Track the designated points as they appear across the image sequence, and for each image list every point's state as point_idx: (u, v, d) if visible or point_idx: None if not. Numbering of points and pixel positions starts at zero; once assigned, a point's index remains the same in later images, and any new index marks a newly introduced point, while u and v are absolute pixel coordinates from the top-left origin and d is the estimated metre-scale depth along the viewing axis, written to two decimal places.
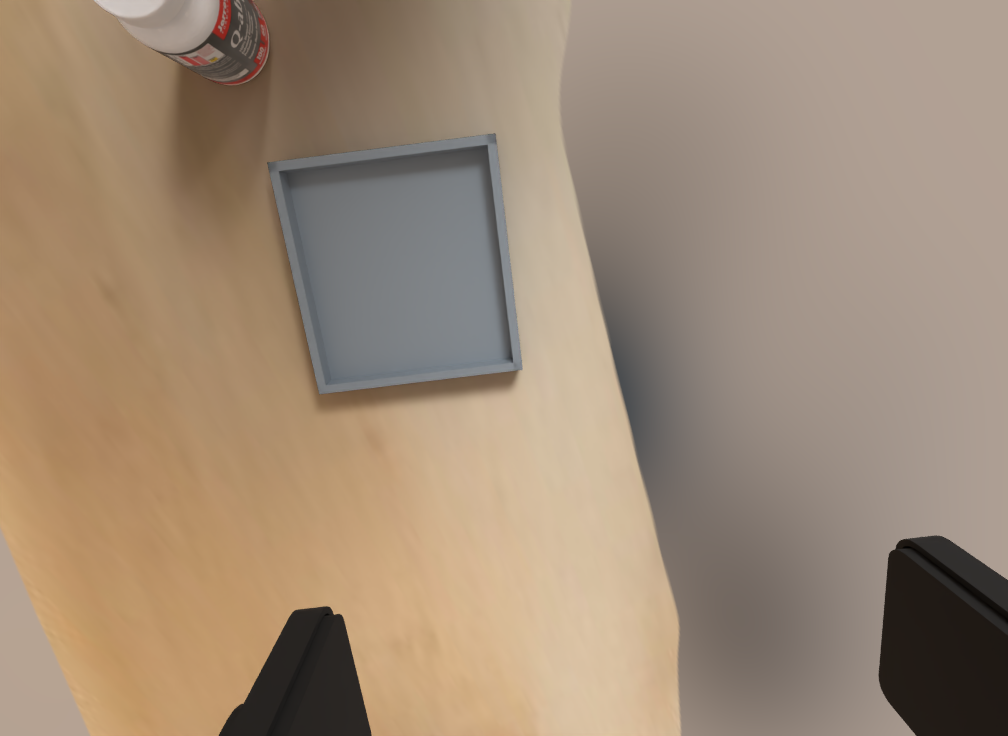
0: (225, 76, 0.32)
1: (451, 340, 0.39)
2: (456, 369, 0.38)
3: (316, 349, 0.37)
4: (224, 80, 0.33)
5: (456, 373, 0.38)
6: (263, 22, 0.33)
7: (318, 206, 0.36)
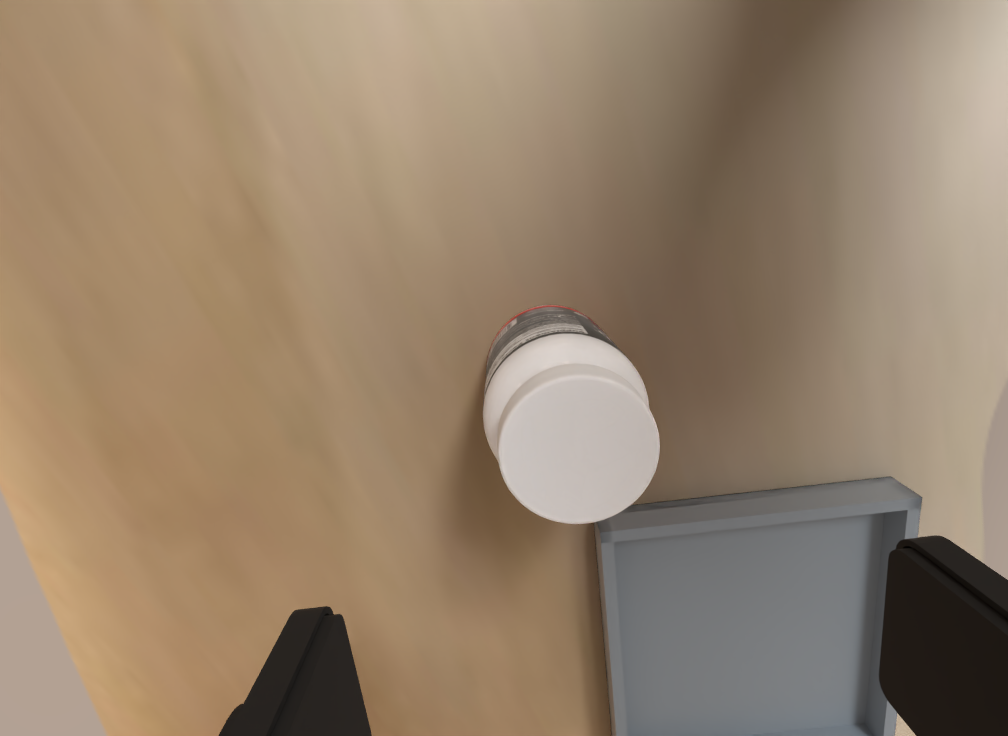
0: None
1: (789, 705, 0.29)
2: None
3: (625, 734, 0.28)
4: None
5: None
6: None
7: (643, 562, 0.27)
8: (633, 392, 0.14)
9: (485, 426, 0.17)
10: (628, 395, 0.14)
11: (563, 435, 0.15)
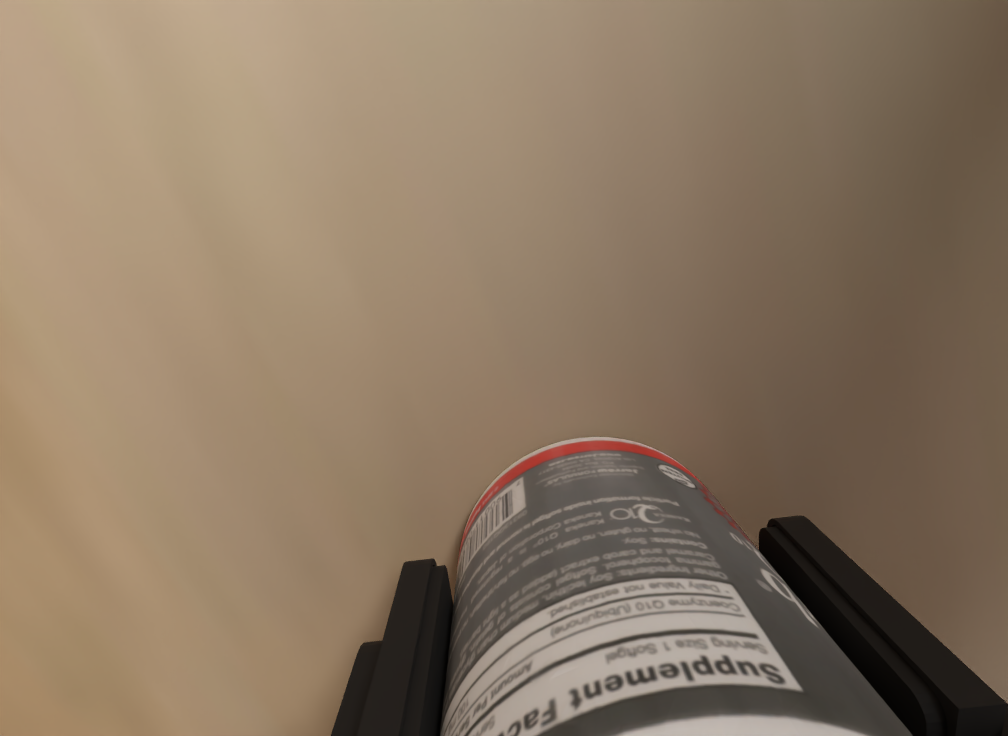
0: None
1: None
2: None
3: None
4: None
5: None
6: None
7: None
8: None
9: None
10: None
11: None
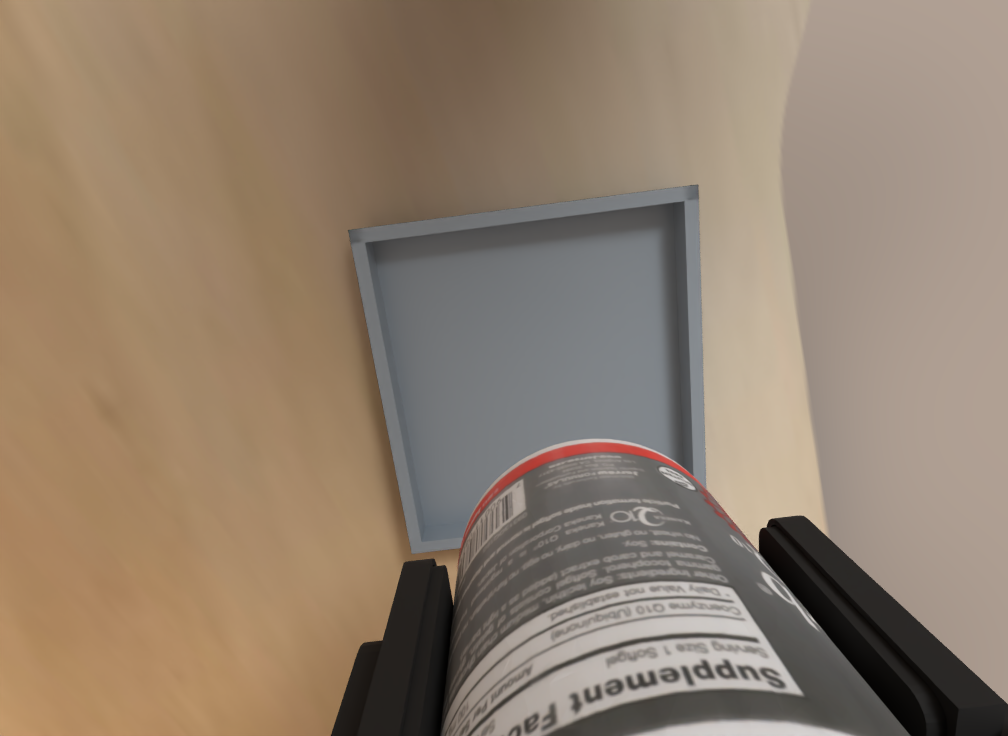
0: None
1: None
2: None
3: (410, 493, 0.25)
4: None
5: None
6: None
7: (418, 289, 0.24)
8: None
9: None
10: None
11: None
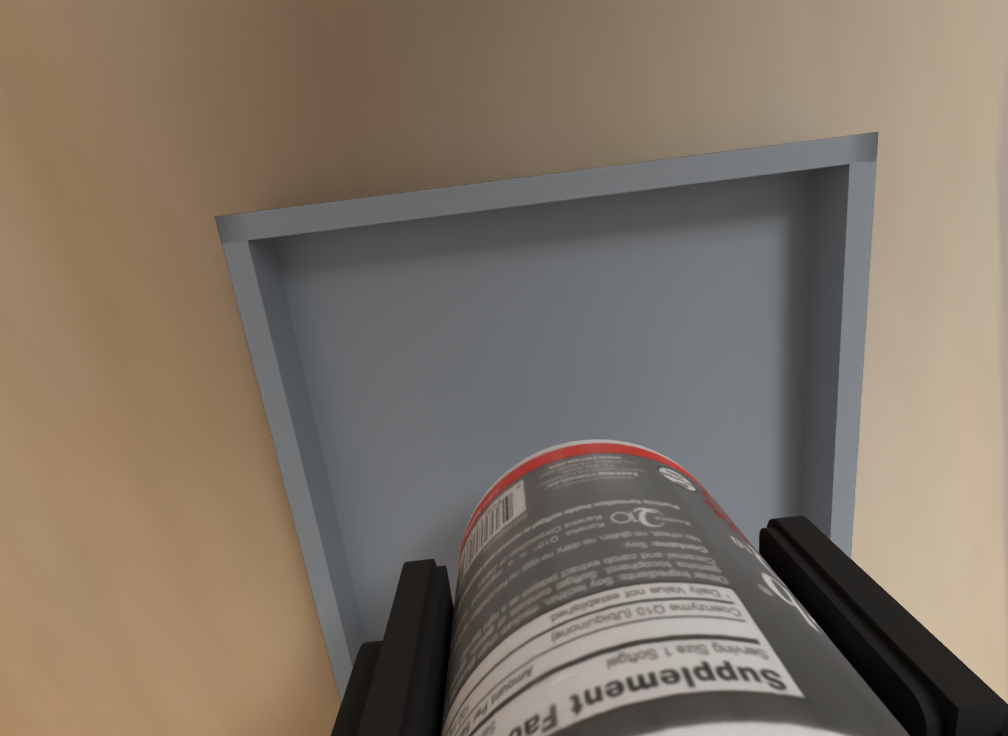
0: None
1: None
2: None
3: (348, 664, 0.15)
4: None
5: None
6: None
7: (357, 323, 0.14)
8: None
9: None
10: None
11: None
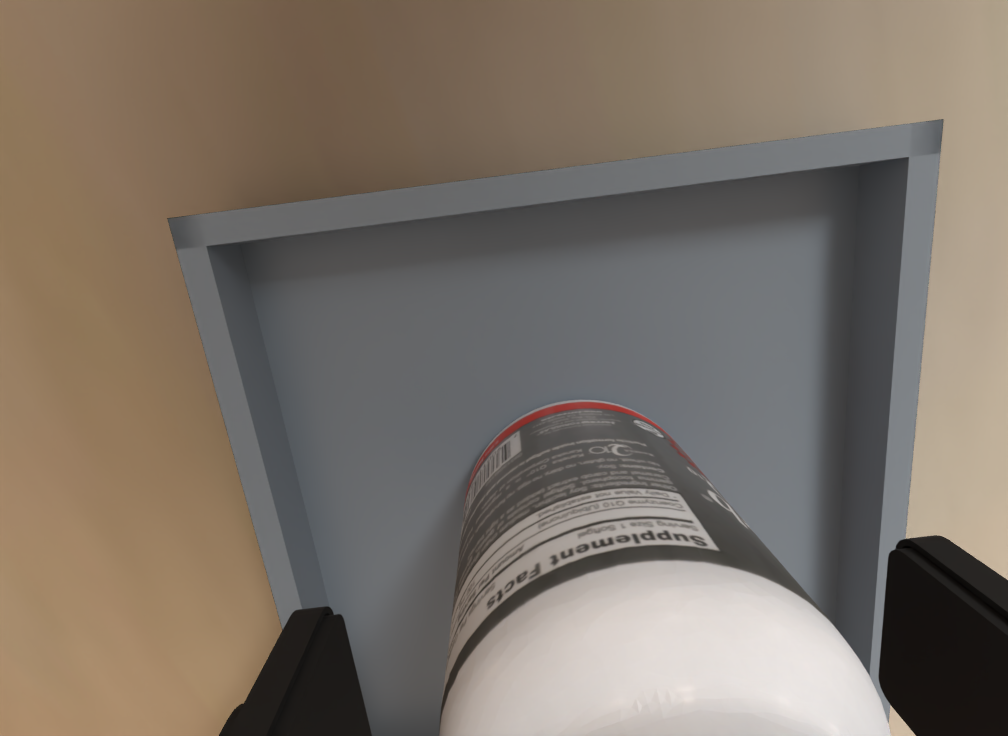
0: None
1: None
2: None
3: None
4: None
5: None
6: None
7: (337, 339, 0.12)
8: None
9: None
10: None
11: None
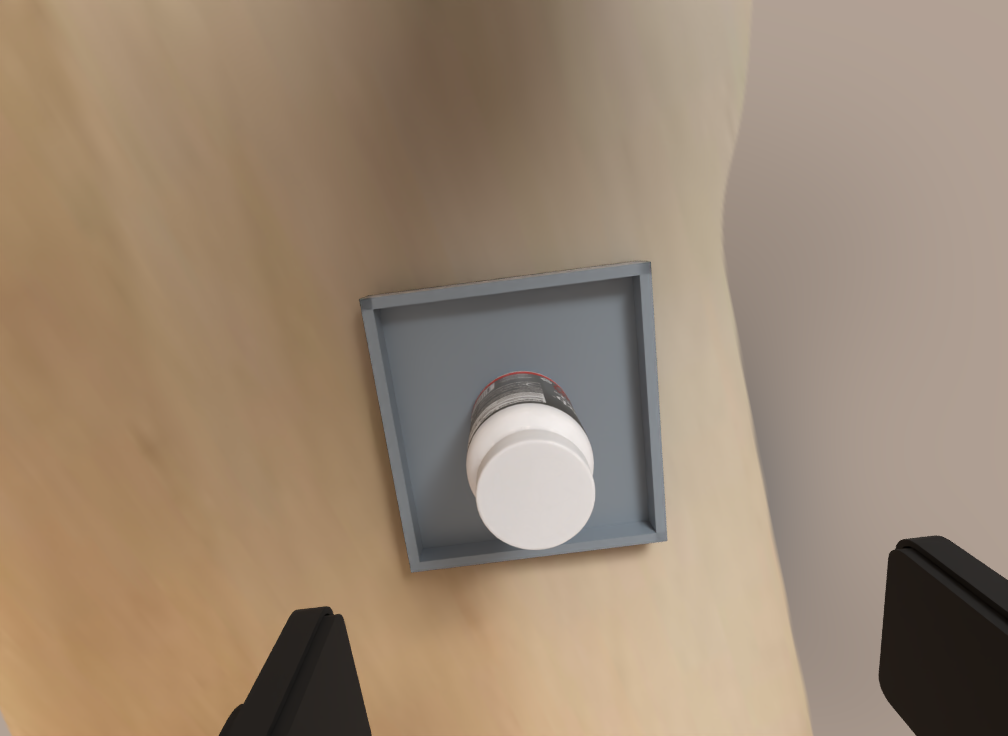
0: None
1: None
2: (584, 541, 0.30)
3: (410, 520, 0.29)
4: None
5: (584, 546, 0.30)
6: None
7: (417, 345, 0.29)
8: (574, 451, 0.20)
9: (468, 474, 0.23)
10: (570, 454, 0.20)
11: (524, 483, 0.20)
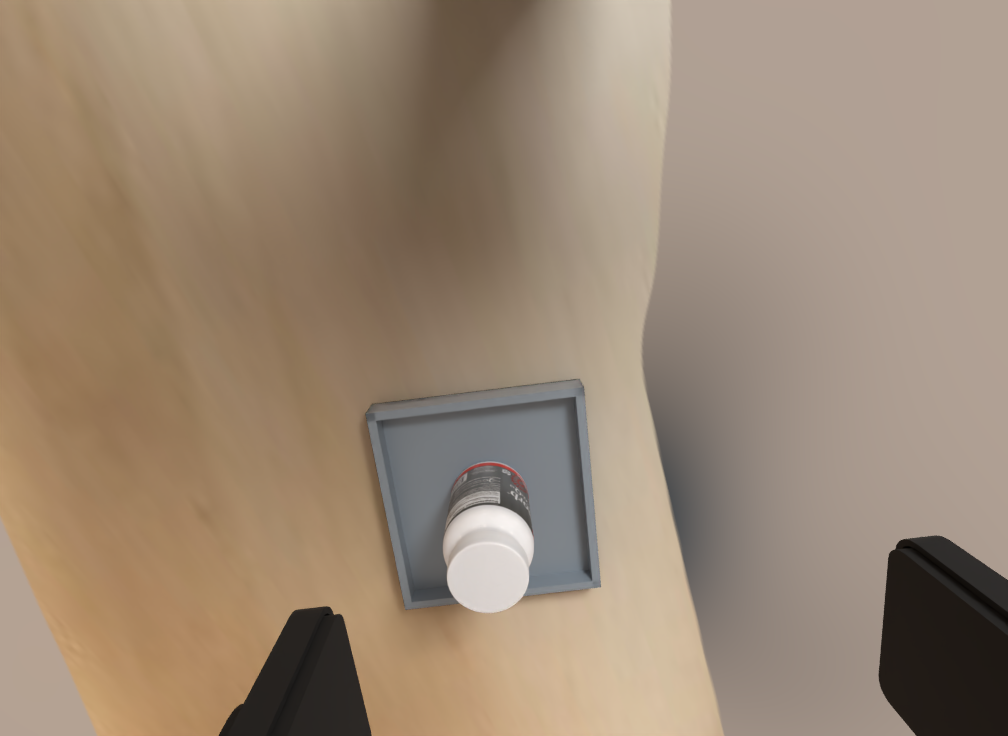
0: None
1: None
2: (537, 587, 0.39)
3: (404, 571, 0.39)
4: None
5: (537, 590, 0.39)
6: (527, 491, 0.38)
7: (409, 442, 0.38)
8: (513, 549, 0.29)
9: (443, 554, 0.32)
10: (510, 551, 0.29)
11: (479, 570, 0.29)
